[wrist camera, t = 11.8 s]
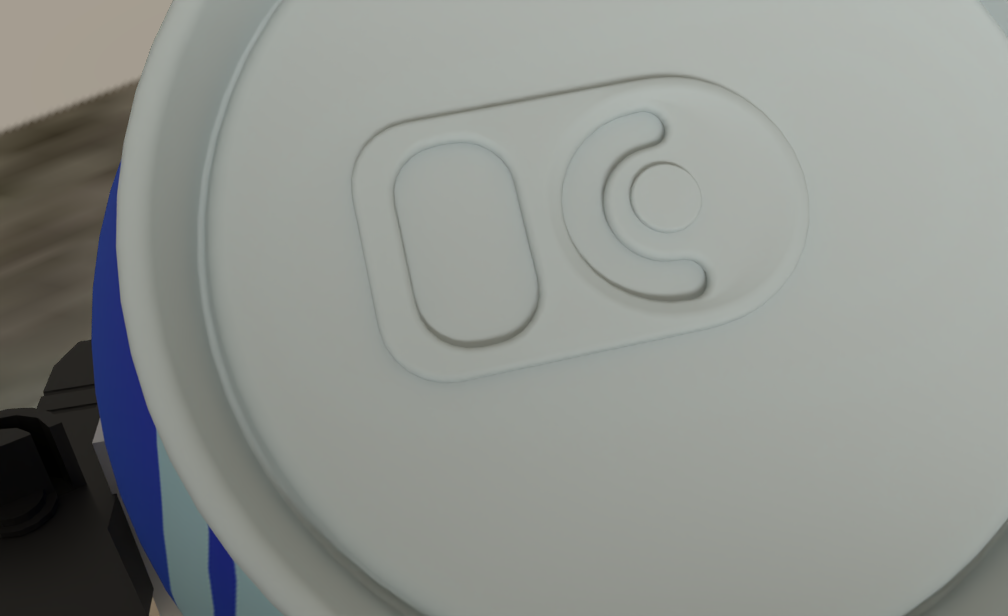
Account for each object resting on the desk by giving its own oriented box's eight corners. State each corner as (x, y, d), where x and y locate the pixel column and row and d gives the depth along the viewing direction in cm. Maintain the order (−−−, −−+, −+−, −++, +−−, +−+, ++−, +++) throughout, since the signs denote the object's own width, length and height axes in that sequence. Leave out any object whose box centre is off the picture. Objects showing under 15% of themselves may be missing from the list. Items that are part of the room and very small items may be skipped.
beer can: (421, 206, 22) (386, -544, 7) (742, 366, 22) (1469, -49, 7) (239, 533, 20) (-392, 506, 5) (589, 716, 20) (1117, 1319, 4)
